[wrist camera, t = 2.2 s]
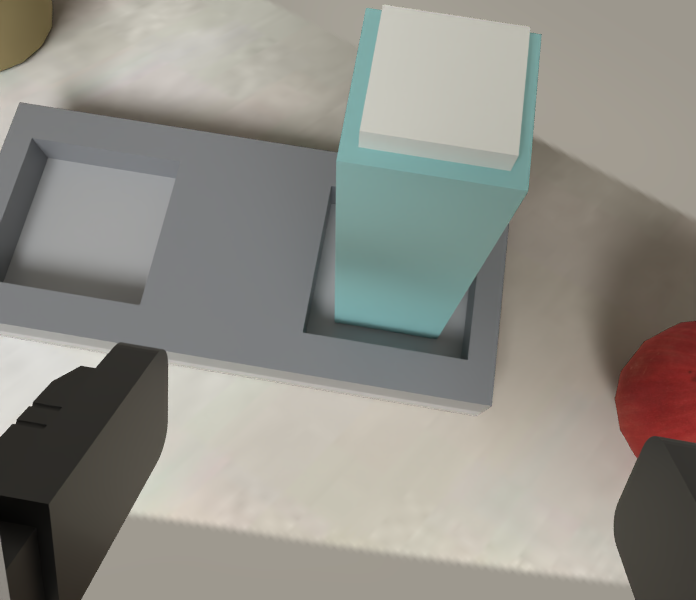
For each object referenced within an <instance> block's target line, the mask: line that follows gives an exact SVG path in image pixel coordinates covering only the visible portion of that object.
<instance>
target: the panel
mask: <svg viewBox="0 0 696 600" xmlns="http://www.w3.org/2000/svg"><path fill="white" fill-rule="evenodd" d="M337 154H338V153H337V152H331V151H325V150H318V149H312V148H306V147H299V146H293V145H287V144H280V143H274V142H268V141H261V140H255V139H249V138H242V137H236V136H230V135H223V134H217V133H211V132H205V131H198V130H192V129H186V128H179V127H173V126H167V125H160V124H154V123H148V122H141V121H135V120H129V119H122V118H116V117H110V116H103V115H97V114H91V113H84V112H78V111H72V110H65V109H59V108H53V107H46V106H40V105H34V104H27V103H21V102H20V103H19V105H18V108H17V111H16V113H15V116H14V118H13V121H12V123H11V126H10V129H9V131H8V134H7V136H6V139H5V141H4V144H3V147H2V149H1V152H0V335H1V336H6V337H12V338H18V339H24V340H30V341H36V342H42V343H48V344H54V345H60V346H65V347H71V348H77V349H83V350H89V351H95V352H101V353H107V354H108V353H109V352H110V351H111V349H112V348H113V347H114V346H115V345H116V344H117V343H119V342H124V343H130V344H135V345H141V346H147V347H153V348H158V349H164V350H165V351H166V353H167V356H168V364H172V365H178V366H183V367H189V368H195V369H201V370H207V371H213V372H219V373H225V374H231V375H237V376H242V377H248V378H254V379H260V380H266V381H272V382H278V383H284V384H290V385H296V386H302V387H307V388H313V389H319V390H325V391H331V392H337V393H343V394H349V395H355V396H361V397H366V398H372V399H378V400H384V401H390V402H396V403H402V404H408V405H414V406H420V407H425V408H431V409H437V410H443V411H449V412H455V413H461V414H467V415H473V416H477V415H479V414H480V413H482V412H484V411H485V410H487V409H488V408H490V407H491V406H492V398H493V387H494V377H495V366H496V356H497V345H498V334H499V324H500V313H501V303H502V292H503V281H504V271H505V260H506V250H507V239H508V228H509V223H508V225H507V226H506V228H505V230H504V231H503V233H502V234H501V236H500V238H499V239H498V241H497V243H496V244H495V246H494V247H493V249H492V251H491V252H490V254H489V256H488V257H487V259H486V260H485V262H484V264H483V265H482V267H481V269H480V270H479V272H478V273H477V275H476V277H475V278H474V280H473V282H472V283H471V285H470V286H469V288H468V290H467V291H466V293H465V295H464V296H463V298H462V299H461V301H460V303H459V304H458V306H457V308H456V309H455V311H454V312H453V314H452V316H451V317H450V319H449V321H448V322H447V324H446V325H445V327H444V329H443V330H442V332H441V334H440V335H439V337H438V338H437V339H432V338H426V337H420V336H414V335H408V334H402V333H396V332H390V331H384V330H378V329H372V328H366V327H360V326H354V325H348V324H342V323H336V322H335V231H336V159H337Z"/></svg>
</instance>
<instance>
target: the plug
mask: <svg viewBox="0 0 696 600" xmlns="http://www.w3.org/2000/svg"><path fill="white" fill-rule="evenodd" d="M540 46H541V34H536V33H530V27H529V26H523V25H516V24H509V23H503V22H496V21H490V20H483V19H476V18H470V17H463V16H456V15H450V14H443V13H436V12H430V11H423V10H416V9H410V8H403V7H397V6H389V5H383V7H382V10H377V9H370V8H366V11H365V16H364V21H363V27H362V32H361V37H360V42H359V47H358V52H357V57H356V62H355V67H354V72H353V78H352V83H351V88H350V93H349V98H348V103H347V108H346V113H345V118H344V124H343V129H342V134H341V139H340V144H339V149H338V154H337V159H336V231H335V322H336V323H342V324H348V325H354V326H360V327H366V328H372V329H378V330H384V331H390V332H396V333H402V334H408V335H414V336H420V337H426V338H432V339H437V338H438V337H439V335H440V334H441V332H442V330H443V329H444V327H445V325H446V324H447V322H448V321H449V319H450V317H451V316H452V314H453V312H454V311H455V309H456V308H457V306H458V304H459V303H460V301H461V299H462V298H463V296H464V295H465V293H466V291H467V290H468V288H469V286H470V285H471V283H472V282H473V280H474V278H475V277H476V275H477V273H478V272H479V270H480V269H481V267H482V265H483V264H484V262H485V260H486V259H487V257H488V256H489V254H490V252H491V251H492V249H493V247H494V246H495V244H496V243H497V241H498V239H499V238H500V236H501V234H502V233H503V231H504V230H505V228H506V226H507V225H508V223H509V221H510V220H511V218H512V217H513V215H514V213H515V212H516V210H517V209H518V207H519V205H520V204H521V202H522V200H523V199H524V197H525V196H526V194H527V192H528V188H529V176H530V164H531V152H532V141H533V129H534V117H535V105H536V94H537V93H536V92H537V82H538V69H539V58H540Z"/></svg>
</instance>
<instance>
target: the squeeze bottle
mask: <svg viewBox="0 0 696 600" xmlns="http://www.w3.org/2000/svg"><path fill="white" fill-rule="evenodd" d="M52 11H53V6H52V0H0V71H2V70H5V69H7V68H10V67H12V66H15V65H17V64H20V63H22V62H24V61H25V60H26V59H27V58H28V57H29V56H31V55H32V54H33V53H34V52H35V51H37V50H38V49H39V48H40V47H41V46H42V44H43V42H44V41H45V39H46V37H47V35H48V33H49V31H50V30H51V28H52Z"/></svg>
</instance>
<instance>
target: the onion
mask: <svg viewBox="0 0 696 600" xmlns="http://www.w3.org/2000/svg"><path fill="white" fill-rule="evenodd" d="M615 402H616V408H617V414H618V420H619V426H620V431H621V432H622V434H623V435H624V437H625V439H626V440H627V442H628V444H629V446H630V448H631V450H632V451H633V453H634V455H635V456H636V457H637V459H638V457H639V454H640V452H641V450H642V448H643V446H644V444H645V442H646V441H647V440H648V439H649V438H650V437H652V436H659V437H665V438H670V439H676V440H682V441H688V442H694V443H696V321H691V322H682V323H679V324H677V325H675V326H673V327H671V328H669V329H667V330H665V331H663V332H661V333H659V334H657V335H656V336H654V337H652V338H650V339H648V340H646V341H644V342H643V344H642V345H641V346H640V348H639V349H638V350H637V352H636V353H635V354H634V355H633V357H632V358H631V359H630V360H629V362H628V363H627V364H626V365H625V367H624V368H623V369H622V371H621V373H620V377H619V382H618V387H617V391H616V396H615Z"/></svg>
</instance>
